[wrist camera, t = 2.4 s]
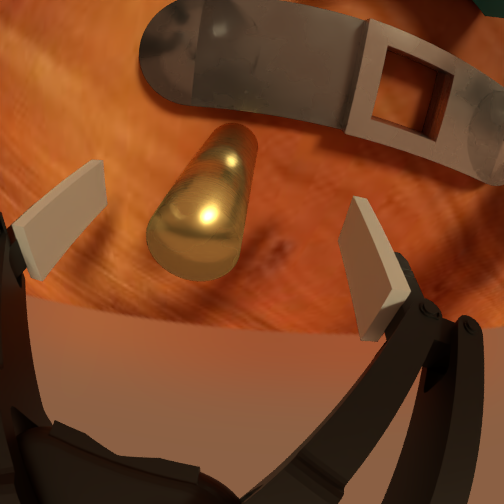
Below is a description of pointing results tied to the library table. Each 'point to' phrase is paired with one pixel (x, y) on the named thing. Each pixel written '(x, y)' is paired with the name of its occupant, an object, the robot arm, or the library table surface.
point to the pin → (206, 208)
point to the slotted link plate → (321, 76)
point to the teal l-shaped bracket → (491, 7)
